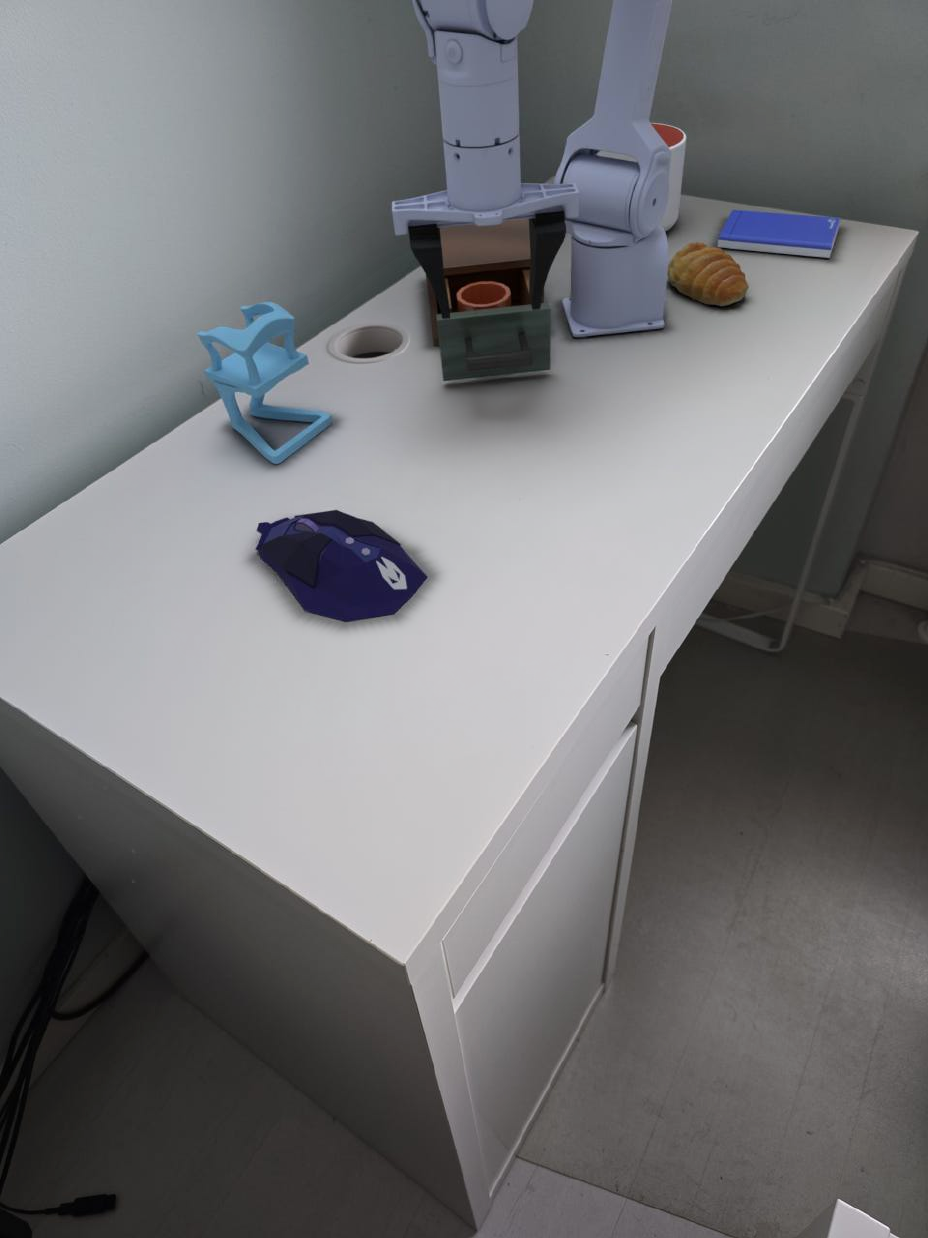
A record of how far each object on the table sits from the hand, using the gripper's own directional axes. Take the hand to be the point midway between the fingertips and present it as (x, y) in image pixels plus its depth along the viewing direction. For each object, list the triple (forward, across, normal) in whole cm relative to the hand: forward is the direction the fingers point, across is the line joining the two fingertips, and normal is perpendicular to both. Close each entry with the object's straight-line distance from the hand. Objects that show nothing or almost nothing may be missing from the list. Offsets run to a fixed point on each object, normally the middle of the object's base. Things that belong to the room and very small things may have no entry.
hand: (490, 308), depth 74 cm
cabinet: (+10, 0, +20) cm, 23 cm away
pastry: (+10, +25, +20) cm, 33 cm away
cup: (+10, +21, +37) cm, 44 cm away
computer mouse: (+10, -15, -20) cm, 27 cm away
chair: (+10, -21, 0) cm, 23 cm away
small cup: (+8, 0, +9) cm, 12 cm away
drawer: (+9, +1, +9) cm, 12 cm away
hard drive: (+10, +36, +30) cm, 48 cm away
